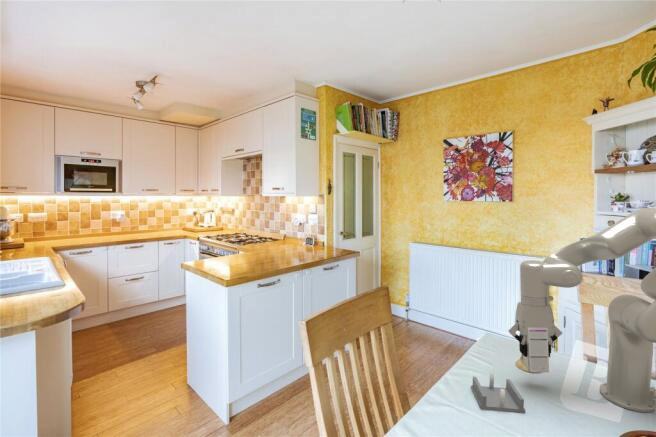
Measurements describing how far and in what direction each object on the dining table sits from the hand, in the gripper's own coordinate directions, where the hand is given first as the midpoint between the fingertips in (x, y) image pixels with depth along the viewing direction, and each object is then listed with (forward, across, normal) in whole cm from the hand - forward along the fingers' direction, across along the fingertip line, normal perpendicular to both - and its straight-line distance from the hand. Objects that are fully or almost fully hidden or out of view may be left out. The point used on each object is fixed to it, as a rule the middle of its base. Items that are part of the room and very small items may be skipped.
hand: (535, 354), depth 103 cm
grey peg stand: (+10, +15, +9) cm, 20 cm away
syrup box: (+5, 0, 0) cm, 5 cm away
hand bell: (+11, -3, -12) cm, 17 cm away
